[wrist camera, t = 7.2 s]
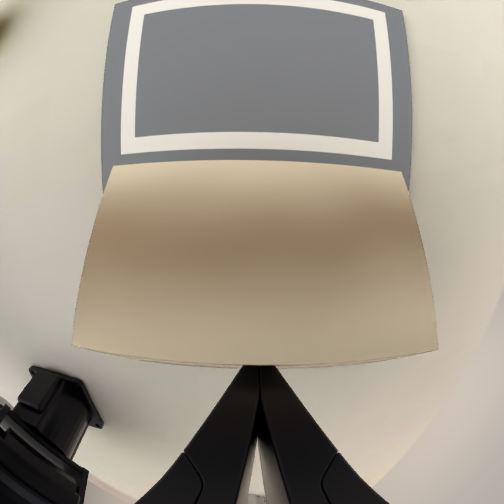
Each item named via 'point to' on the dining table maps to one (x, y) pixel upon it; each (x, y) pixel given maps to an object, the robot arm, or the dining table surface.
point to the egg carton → (255, 499)
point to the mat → (257, 83)
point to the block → (255, 266)
